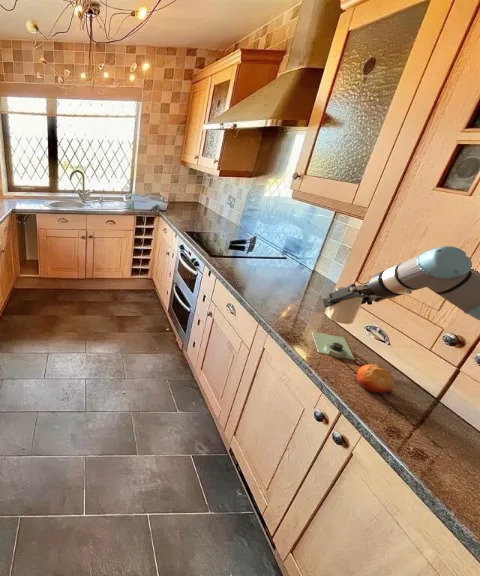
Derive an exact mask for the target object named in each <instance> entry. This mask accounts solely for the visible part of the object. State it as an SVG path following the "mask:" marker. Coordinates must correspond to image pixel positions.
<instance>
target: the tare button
mask: <svg viewBox="0 0 480 576" xmlns="http://www.w3.org/2000/svg"><path fill="white" fill-rule="evenodd" d="M331 349H333V350H334V351H338V352H341V351H342V349H343V345H341V344H339V343H333V344H332V347H331Z"/></svg>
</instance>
